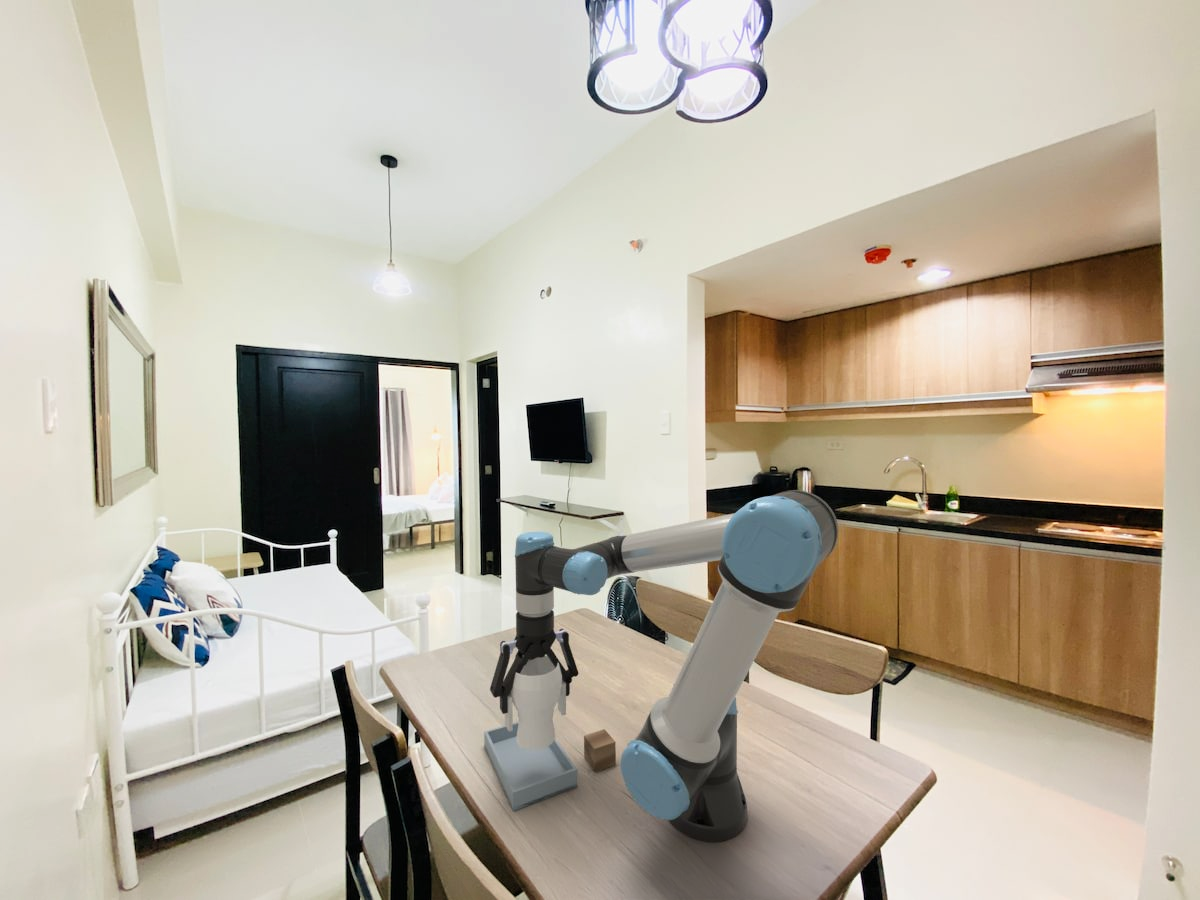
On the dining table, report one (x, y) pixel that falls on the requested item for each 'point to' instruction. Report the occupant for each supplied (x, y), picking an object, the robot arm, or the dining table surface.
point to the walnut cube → (599, 750)
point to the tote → (528, 768)
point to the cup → (536, 702)
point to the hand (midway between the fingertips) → (535, 719)
